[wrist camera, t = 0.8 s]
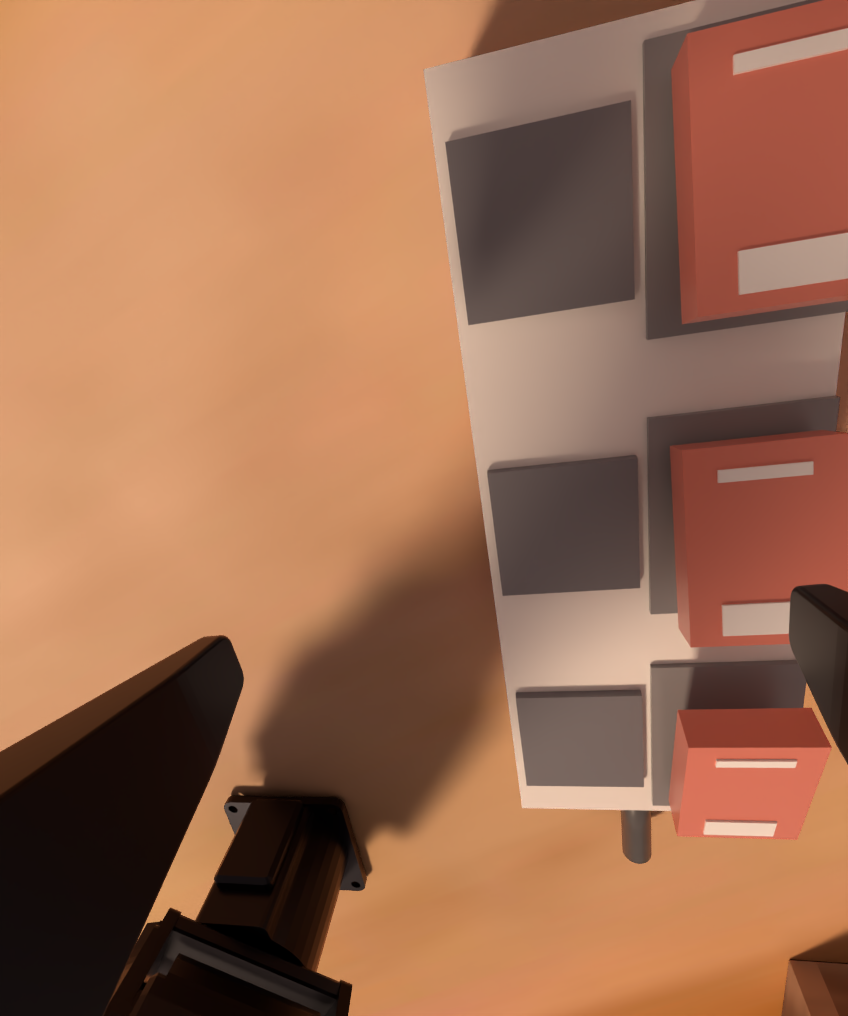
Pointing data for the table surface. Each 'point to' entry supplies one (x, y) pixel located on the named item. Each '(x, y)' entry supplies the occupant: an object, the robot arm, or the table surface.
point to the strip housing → (602, 398)
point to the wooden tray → (816, 989)
